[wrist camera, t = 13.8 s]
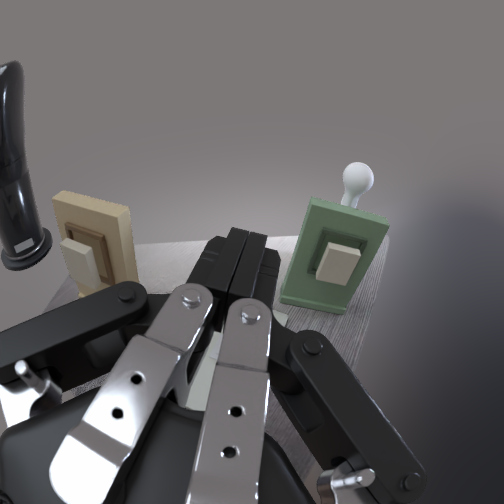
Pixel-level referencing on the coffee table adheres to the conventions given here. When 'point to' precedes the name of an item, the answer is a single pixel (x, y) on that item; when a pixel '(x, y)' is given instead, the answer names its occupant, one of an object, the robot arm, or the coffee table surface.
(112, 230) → the near plate
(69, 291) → the coffee table surface
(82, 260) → the near switch
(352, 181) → the joystick
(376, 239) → the far plate
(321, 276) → the far switch
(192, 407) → the light switch
